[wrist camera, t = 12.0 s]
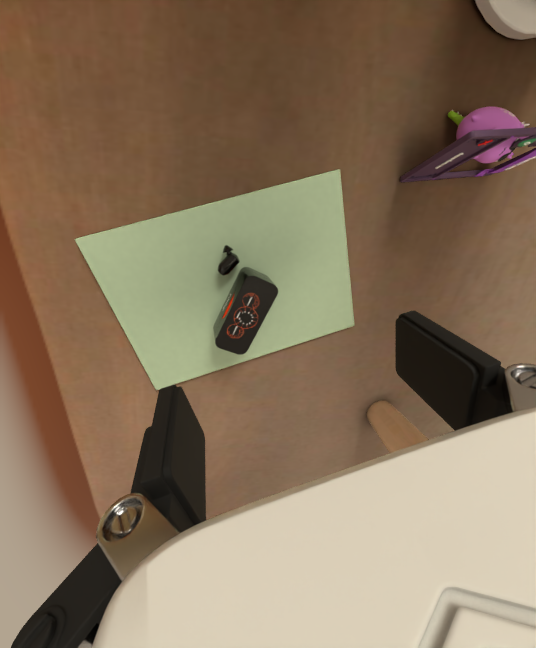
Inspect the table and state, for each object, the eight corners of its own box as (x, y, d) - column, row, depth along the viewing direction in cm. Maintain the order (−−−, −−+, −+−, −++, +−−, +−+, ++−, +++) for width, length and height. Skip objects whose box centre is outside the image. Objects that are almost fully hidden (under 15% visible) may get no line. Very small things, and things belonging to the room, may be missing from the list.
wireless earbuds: (275, 267, 24) (286, 278, 21) (239, 338, 26) (244, 356, 23) (224, 243, 22) (229, 250, 19) (189, 320, 24) (188, 338, 21)
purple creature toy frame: (473, 150, 17) (589, 143, 18) (468, 54, 16) (589, 55, 18) (399, 191, 23) (490, 183, 25) (394, 124, 23) (487, 121, 24)
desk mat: (76, 238, 20) (74, 239, 20) (337, 169, 22) (340, 169, 22) (156, 387, 26) (155, 390, 26) (352, 324, 28) (354, 325, 28)
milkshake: (352, 427, 35) (405, 507, 26) (371, 393, 33) (435, 466, 24) (381, 431, 36) (440, 507, 28) (401, 398, 35) (471, 468, 26)
